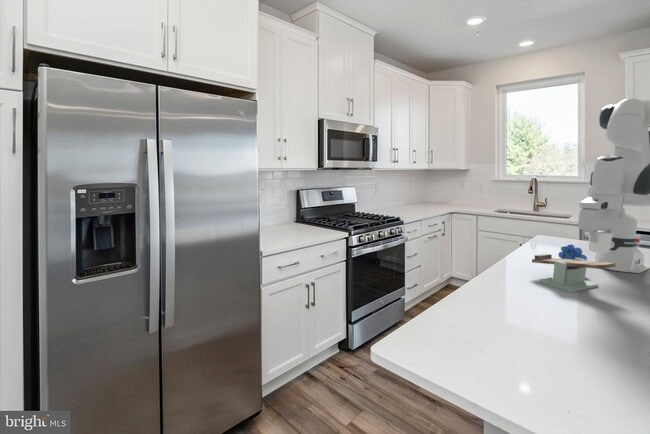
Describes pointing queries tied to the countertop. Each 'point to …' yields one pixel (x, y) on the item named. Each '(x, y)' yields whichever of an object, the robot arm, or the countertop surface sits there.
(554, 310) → the countertop surface
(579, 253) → the grapes
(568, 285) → the pivot stand
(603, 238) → the white cup
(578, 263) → the seesaw beam
